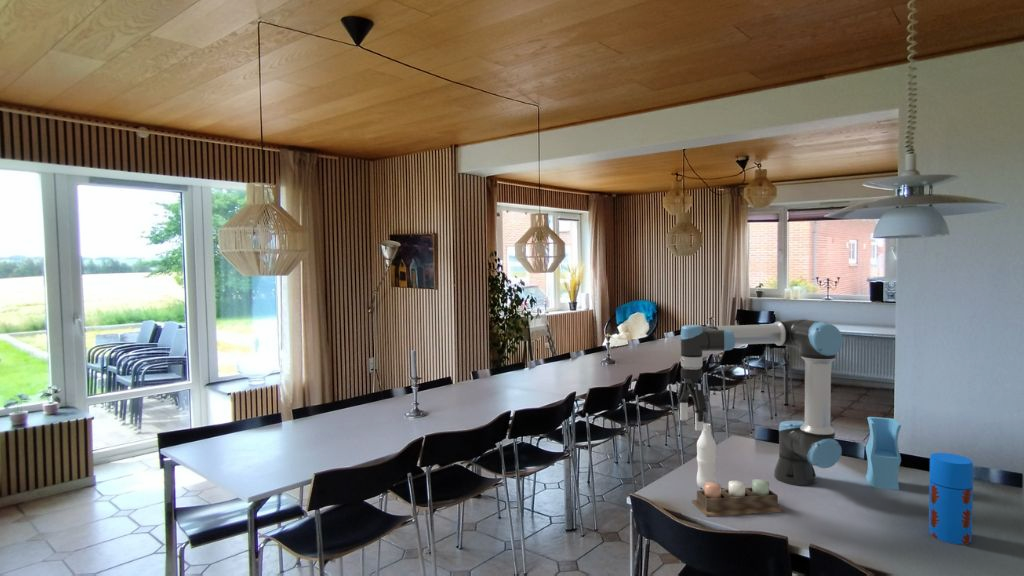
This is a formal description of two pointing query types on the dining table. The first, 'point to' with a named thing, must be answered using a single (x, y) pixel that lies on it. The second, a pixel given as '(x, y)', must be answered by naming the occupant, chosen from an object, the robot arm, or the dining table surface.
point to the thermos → (950, 498)
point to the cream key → (736, 489)
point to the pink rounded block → (712, 490)
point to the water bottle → (706, 457)
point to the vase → (883, 453)
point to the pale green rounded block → (760, 487)
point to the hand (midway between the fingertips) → (691, 424)
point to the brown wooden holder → (737, 503)
